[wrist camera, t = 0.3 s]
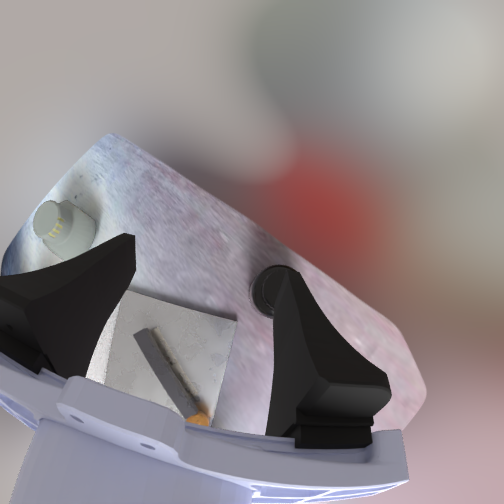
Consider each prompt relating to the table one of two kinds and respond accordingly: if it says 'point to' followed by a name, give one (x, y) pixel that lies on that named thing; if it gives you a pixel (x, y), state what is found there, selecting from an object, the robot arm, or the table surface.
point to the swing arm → (169, 378)
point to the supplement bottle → (267, 289)
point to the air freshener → (64, 228)
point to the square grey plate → (170, 351)
